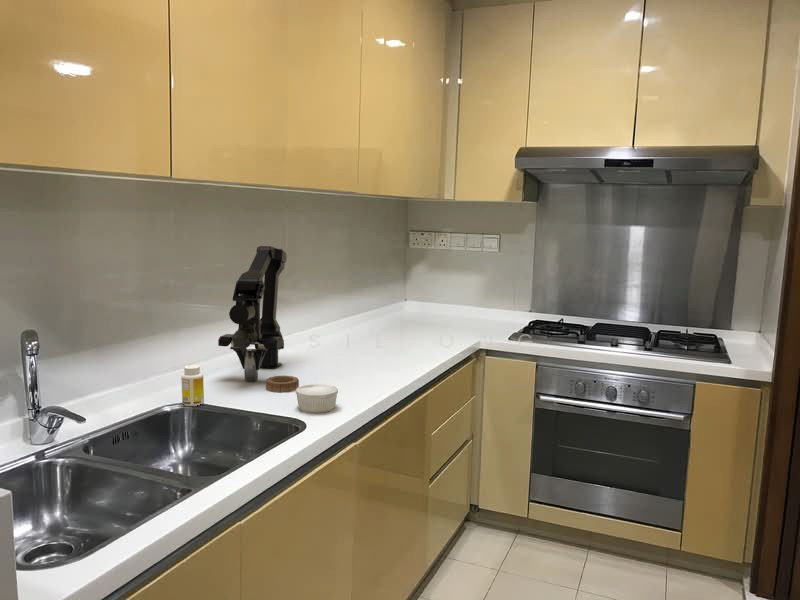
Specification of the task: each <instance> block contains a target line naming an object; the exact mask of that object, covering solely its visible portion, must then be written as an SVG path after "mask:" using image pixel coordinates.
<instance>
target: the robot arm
mask: <svg viewBox="0 0 800 600" xmlns="http://www.w3.org/2000/svg"><path fill="white" fill-rule="evenodd" d="M287 257H288V256H287V253H286V251H284V250H283V248H276V247H274V246H271V245H259V246H257V248H256V253H255V255H254V258H253V260H252V262H251V263H250V266H249V268H248V270H247V271H245V272H243V273H241V275H240V276H239V278H238V279H237V280H236V281H235V282H236V283H235V287H234V290H233V297H232V301H233V302H235V305H233V306H232V307H231V308H230V310H229V313H228V315H229V319H230V320H231V322H232V323H234V324H236V325H238V329H237V330H236V331H235V332H234V333H232V334H231V333H225V334H223V335H220V336H219V338H218V340H217V346H218V347H229V346H230V347H229V349H230V350H233V351H234V352H235V353H236V356H237V357H238V359H239V362H240V364H241V368H242V370H244V350H246V349H248V347H250V346H251V345H252V346H254V349H255V351H256V353H257V358H256V369H257V370H258V371H259V370H260V368H261V369H277V368H279V367H280V366H282V365H283V363H282V362H279V351H280V350H284V349H285V341H284V337H283V334H282V331H281V326H280V324H279V322H278V321H277V309H278V308H277V306H278V291H279V280H280V279H279V277H280V275H281V273H283V271H284V270H285V265H286V263H287ZM261 299H262V309H261Z"/></svg>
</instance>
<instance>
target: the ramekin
mask: <svg viewBox="0 0 800 600" xmlns="http://www.w3.org/2000/svg"><path fill="white" fill-rule="evenodd" d="M338 393H339V388H338V387H337V386H334V385H331V384H323V383H322V384H321V383H318V384H317V383H315V384H304V385H299V387H298V388H297V389H296V390H295V394H296V400H297V405H298V408H299V409H300V411H302V412H305V413H310V414H320V413H328V412H330V410H331V411H333V410H334V408H335V407H336V404H337V397H338Z"/></svg>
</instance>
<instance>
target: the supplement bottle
mask: <svg viewBox="0 0 800 600" xmlns="http://www.w3.org/2000/svg"><path fill="white" fill-rule="evenodd" d="M204 393H205V391H204V374H203V372H201V367H200V365H199V364H190V365H185V366H184V370H183V373H182V374H181V403H182V404H184V405H183V406H185V407H198V406H201V405H203V404H204V402H205V394H204ZM200 404H201V405H200ZM197 405H198V406H197Z"/></svg>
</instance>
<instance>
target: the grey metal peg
mask: <svg viewBox="0 0 800 600" xmlns="http://www.w3.org/2000/svg"><path fill="white" fill-rule="evenodd" d="M256 358H257V353H256V351H255V348H247V349H246V350H244V369H243V371H244V373H243V374H244V381H245V382H246V381H248V382H252V381H253V382H255V381H258V379H259V370H257V369H256Z"/></svg>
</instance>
